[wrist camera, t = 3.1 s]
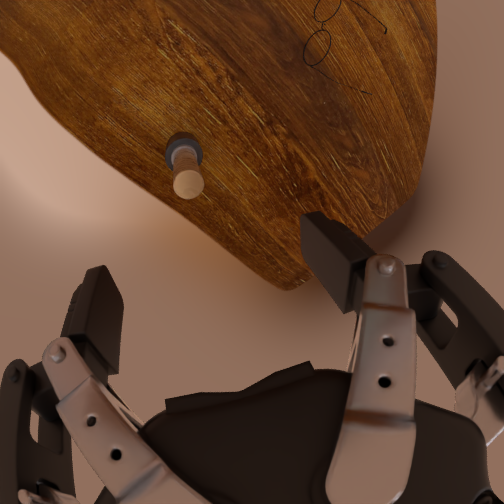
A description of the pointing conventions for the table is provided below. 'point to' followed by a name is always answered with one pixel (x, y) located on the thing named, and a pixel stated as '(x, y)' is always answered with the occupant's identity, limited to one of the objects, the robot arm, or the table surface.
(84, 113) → the table surface
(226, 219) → the table surface
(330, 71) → the table surface
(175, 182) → the cylinder with wooden handle
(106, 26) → the table surface
